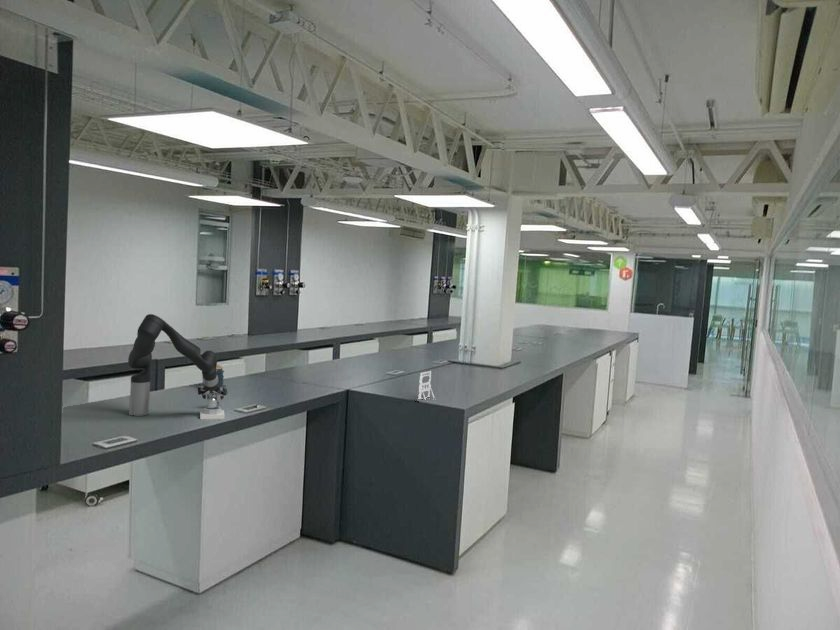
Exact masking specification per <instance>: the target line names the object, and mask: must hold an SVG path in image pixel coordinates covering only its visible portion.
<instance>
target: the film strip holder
mask: <svg viewBox="0 0 840 630" xmlns="http://www.w3.org/2000/svg"><path fill="white" fill-rule="evenodd" d="M424 377H428V378H429V379H428V381H427V382H423V378H424ZM431 381H432V370H429V371H424V372H420V374H419V385H418V395H417V397H418V398H417V399H423V398H424V399H425V400H426V398H427V397H430V396H431V395H432V398H433V399H434V398H435V395H434V393H433V389H432V384H431V383H432V382H431ZM425 392H427V396H426V395H425ZM422 395H423V397H422ZM427 399H428V398H427Z"/></svg>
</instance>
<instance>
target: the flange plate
mask: <svg viewBox="0 0 840 630" xmlns="http://www.w3.org/2000/svg"><path fill="white" fill-rule="evenodd" d="M225 416H226V415H225V410H224V409H222V407H221V406H219V407H217V409H207V406H204V407H203V410H202V409H200V415H199V417H200V418H199V420H225Z"/></svg>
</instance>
